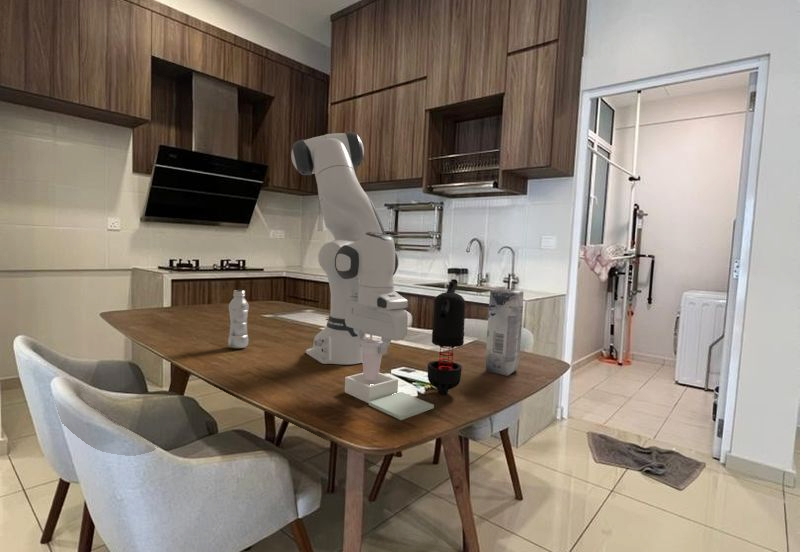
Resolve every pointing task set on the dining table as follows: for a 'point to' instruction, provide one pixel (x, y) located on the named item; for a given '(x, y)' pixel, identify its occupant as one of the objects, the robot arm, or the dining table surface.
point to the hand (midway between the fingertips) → (372, 350)
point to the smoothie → (371, 356)
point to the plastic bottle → (238, 320)
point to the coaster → (401, 405)
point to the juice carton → (504, 330)
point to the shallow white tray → (370, 387)
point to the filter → (447, 338)
